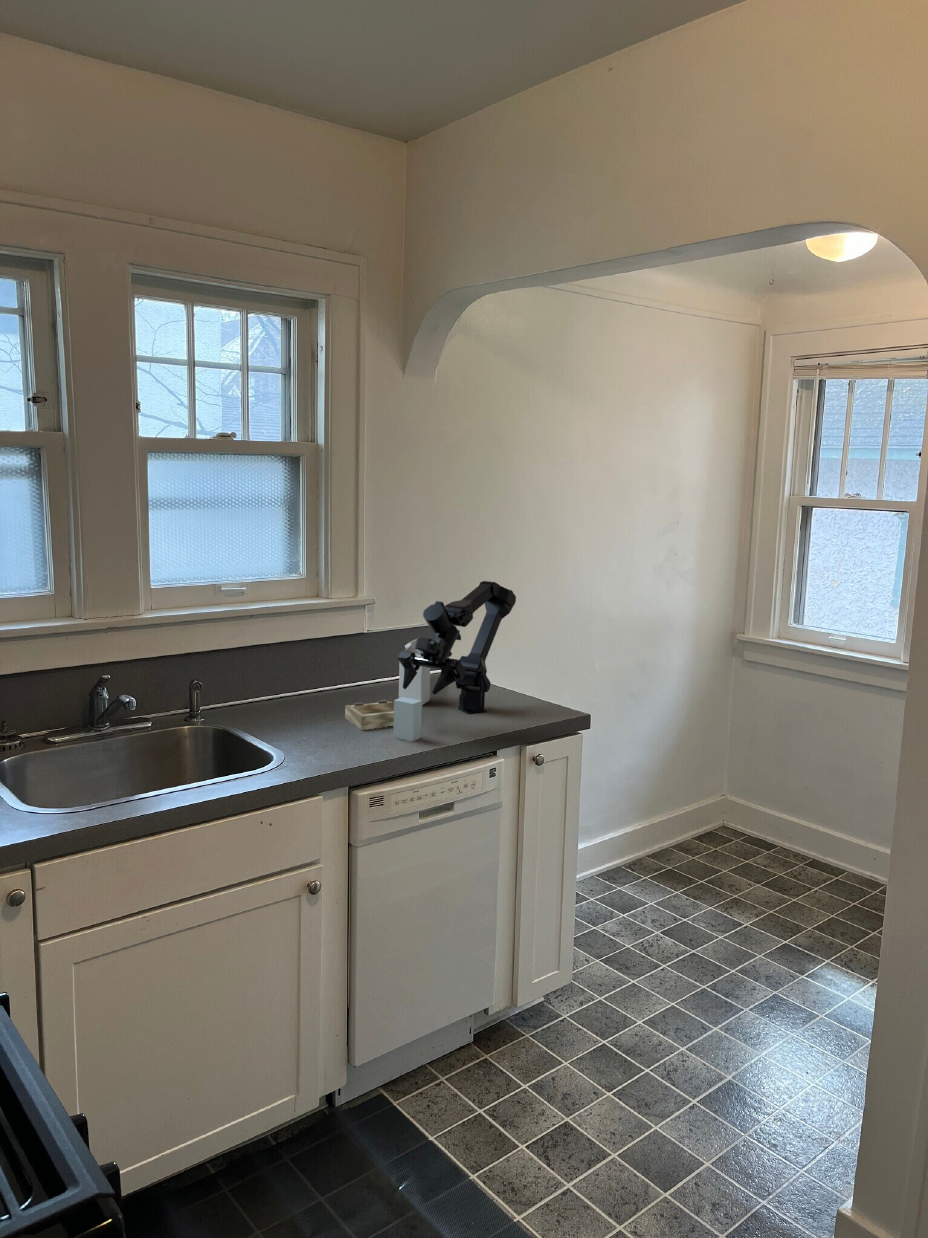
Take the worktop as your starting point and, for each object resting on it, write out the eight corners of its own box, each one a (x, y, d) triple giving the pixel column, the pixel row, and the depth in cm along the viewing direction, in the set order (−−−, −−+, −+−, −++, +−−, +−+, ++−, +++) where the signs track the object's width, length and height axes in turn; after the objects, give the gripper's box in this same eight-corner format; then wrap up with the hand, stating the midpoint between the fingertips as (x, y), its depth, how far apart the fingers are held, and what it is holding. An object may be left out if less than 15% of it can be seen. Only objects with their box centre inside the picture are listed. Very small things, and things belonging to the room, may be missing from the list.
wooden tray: (391, 713, 263) (391, 698, 262) (409, 724, 252) (409, 709, 252) (345, 718, 256) (345, 703, 255) (361, 730, 246) (361, 714, 245)
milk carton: (429, 700, 277) (431, 638, 274) (420, 706, 271) (422, 642, 267) (407, 698, 280) (409, 636, 276) (398, 703, 273) (399, 640, 270)
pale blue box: (402, 734, 244) (402, 697, 242) (421, 738, 241) (422, 700, 239) (393, 737, 240) (394, 700, 239) (412, 741, 237) (413, 703, 236)
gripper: (402, 621, 249) (377, 668, 241) (461, 629, 240) (437, 679, 232) (417, 645, 257) (393, 692, 249) (476, 654, 248) (452, 703, 240)
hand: (418, 691), depth 243 cm, fingers open, 9 cm apart
